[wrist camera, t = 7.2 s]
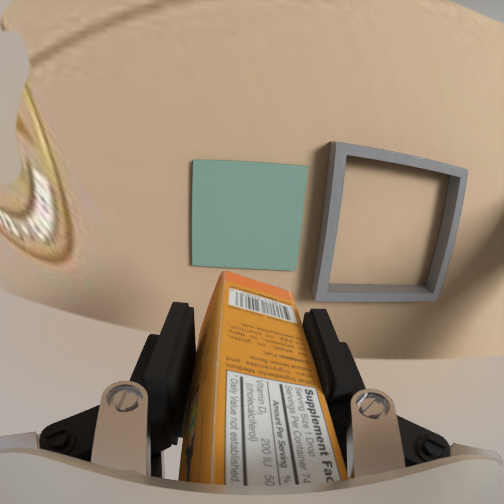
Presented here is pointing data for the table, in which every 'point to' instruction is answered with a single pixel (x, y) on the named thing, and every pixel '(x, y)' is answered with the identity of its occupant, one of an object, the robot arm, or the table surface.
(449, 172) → the gray square frame
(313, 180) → the table surface
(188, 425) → the supplement box
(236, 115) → the table surface
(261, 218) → the mat
